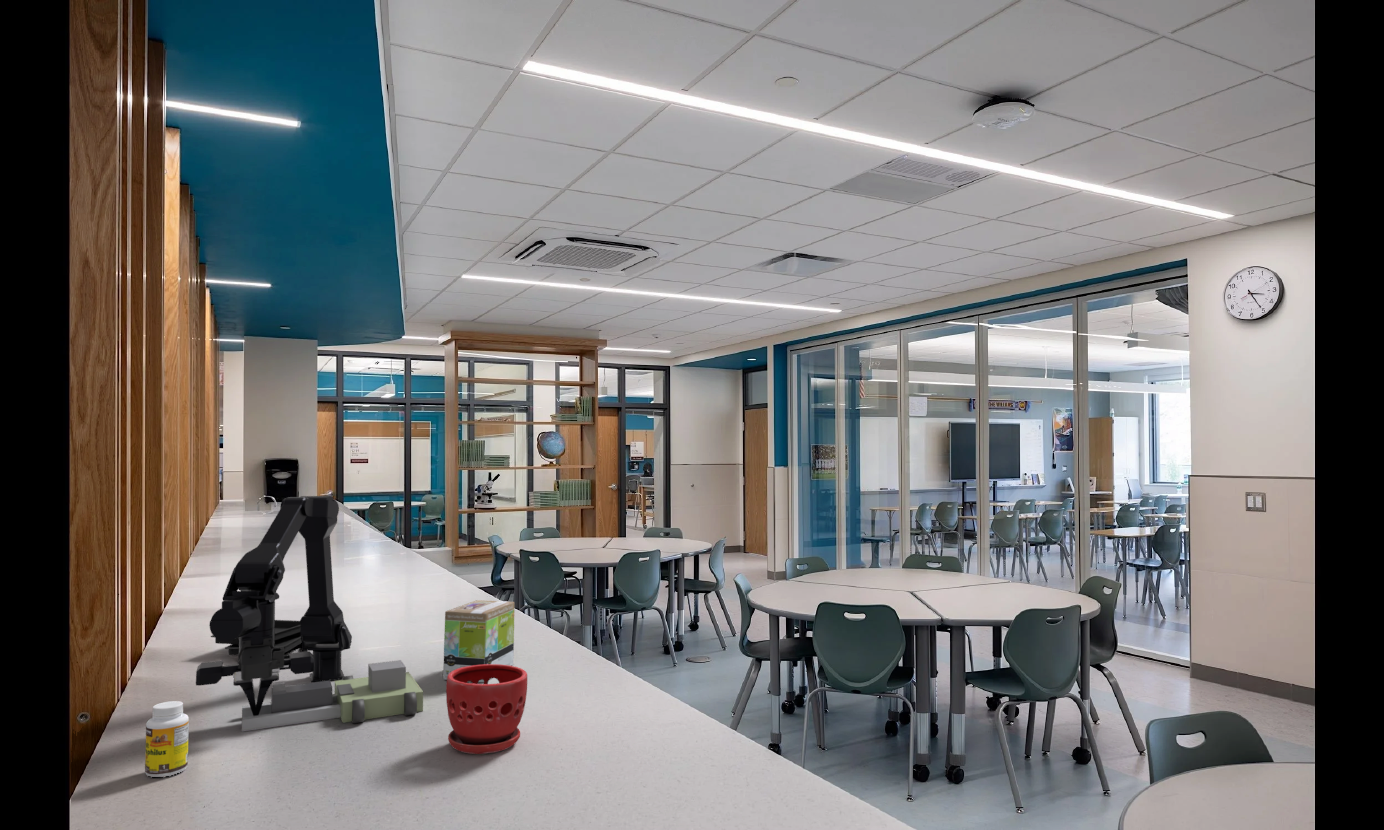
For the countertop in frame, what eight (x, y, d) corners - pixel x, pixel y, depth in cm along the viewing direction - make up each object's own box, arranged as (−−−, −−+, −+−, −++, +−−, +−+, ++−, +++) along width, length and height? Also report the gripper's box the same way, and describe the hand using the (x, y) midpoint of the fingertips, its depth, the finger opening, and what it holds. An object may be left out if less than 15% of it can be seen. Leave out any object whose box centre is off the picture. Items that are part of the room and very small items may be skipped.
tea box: (486, 683, 176) (486, 612, 176) (441, 681, 178) (442, 610, 178) (515, 665, 191) (515, 599, 191) (474, 663, 193) (474, 598, 193)
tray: (328, 657, 199) (329, 635, 199) (216, 673, 186) (217, 649, 186) (305, 635, 224) (306, 615, 224) (205, 647, 211) (205, 626, 211)
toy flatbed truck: (242, 707, 160) (242, 667, 160) (406, 685, 174) (406, 648, 174) (241, 742, 141) (242, 696, 141) (425, 715, 155) (426, 673, 155)
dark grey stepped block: (270, 714, 155) (271, 683, 155) (329, 706, 160) (329, 676, 160) (271, 723, 150) (272, 691, 150) (332, 714, 155) (332, 684, 155)
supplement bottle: (135, 776, 126) (137, 708, 127) (168, 763, 131) (170, 697, 132) (164, 781, 125) (165, 711, 125) (196, 767, 130) (197, 700, 130)
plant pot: (451, 765, 130) (452, 686, 131) (441, 738, 142) (441, 667, 143) (535, 752, 135) (535, 677, 136) (518, 727, 148) (518, 659, 148)
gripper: (194, 643, 141) (193, 737, 140) (316, 631, 149) (315, 720, 149) (198, 630, 151) (197, 718, 150) (312, 620, 159) (311, 703, 159)
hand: (255, 715), depth 152 cm, fingers closed
